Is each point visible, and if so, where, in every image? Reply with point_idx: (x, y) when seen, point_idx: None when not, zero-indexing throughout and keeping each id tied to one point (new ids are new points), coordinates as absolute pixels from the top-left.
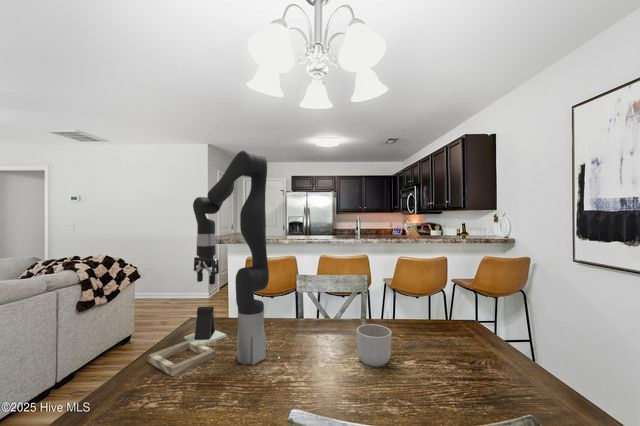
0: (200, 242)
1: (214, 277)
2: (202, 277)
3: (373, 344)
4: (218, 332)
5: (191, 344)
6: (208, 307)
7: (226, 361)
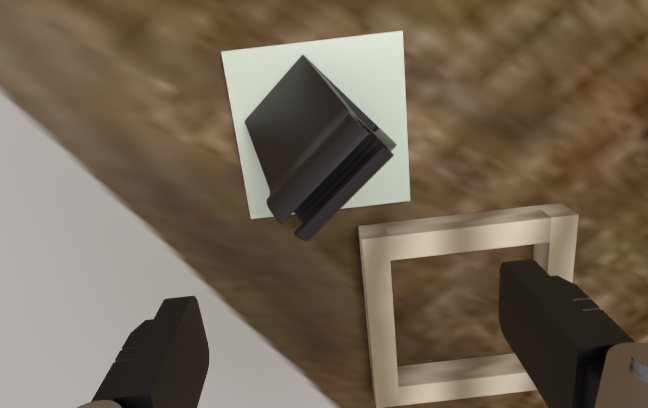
0: None
1: (620, 342)
2: (177, 331)
3: None
4: (340, 50)
5: (416, 256)
6: (361, 174)
7: (636, 188)
